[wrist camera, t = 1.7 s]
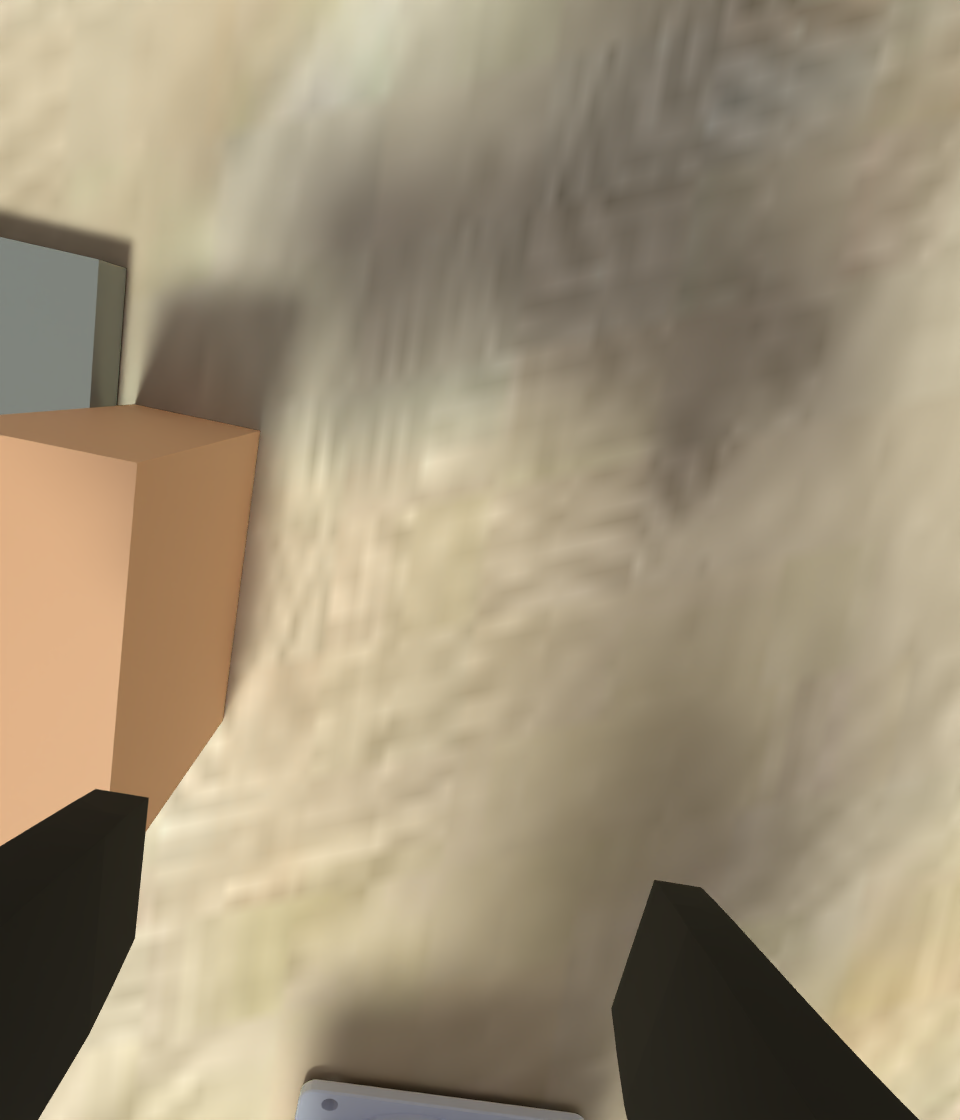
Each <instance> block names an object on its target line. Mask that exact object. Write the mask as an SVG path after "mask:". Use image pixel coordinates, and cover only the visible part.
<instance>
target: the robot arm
mask: <svg viewBox="0 0 960 1120" xmlns="http://www.w3.org/2000/svg"><path fill="white" fill-rule="evenodd" d="M148 801H149V797H142V796H136V795H130V794H124V793H118V792H112V791H106V790H99V789H95V790H93V791H91V792H89V793H88V794H86V795H84V796H82V797H81V798H79V799H77V800H76V801H74V802H72V803H71V804H69V805H67V806H66V807H64V808H62V809H61V810H59V811H57V812H56V813H54V814H52V815H51V816H49V817H47V818H46V819H44V820H43V821H41V822H39V823H38V824H36V825H34V826H33V827H31V828H29V829H28V830H26V831H24V832H23V833H21V834H19V835H18V836H16V837H14V838H13V839H11V840H10V841H8V842H6V843H5V844H3V845H1V846H0V1120H38V1119H39V1117H40V1115H41V1114H42V1112H43V1110H44V1109H45V1107H46V1105H47V1104H48V1102H49V1100H50V1099H51V1097H52V1096H53V1094H54V1092H55V1091H56V1089H57V1087H58V1086H59V1084H60V1082H61V1081H62V1079H63V1077H64V1076H65V1074H66V1072H67V1071H68V1069H69V1067H70V1066H71V1064H72V1062H73V1061H74V1059H75V1057H76V1055H77V1054H78V1052H79V1050H80V1049H81V1047H82V1045H83V1044H84V1042H85V1040H86V1039H87V1037H88V1035H89V1033H90V1031H91V1029H92V1027H93V1025H94V1023H95V1021H96V1019H97V1017H98V1015H99V1013H100V1011H101V1009H102V1007H103V1005H104V1003H105V1001H106V999H107V997H108V994H109V992H110V990H111V988H112V986H113V984H114V982H115V980H116V978H117V975H118V973H119V971H120V969H121V967H122V965H123V963H124V961H125V958H126V956H127V954H128V952H129V950H130V948H131V946H132V943H133V941H134V939H135V931H136V921H137V911H138V901H139V891H140V881H141V871H142V861H143V851H144V841H145V831H146V821H147V811H148ZM611 1009H612V1017H613V1025H614V1033H615V1042H616V1050H617V1058H618V1065H619V1072H620V1079H621V1086H622V1093H623V1100H624V1106H625V1111H626V1115H627V1119H628V1120H919V1119H918V1118H917V1117H916V1116H915V1115H914V1114H913V1113H912V1112H911V1111H910V1110H909V1109H908V1108H907V1107H906V1106H905V1105H904V1104H903V1103H902V1102H901V1101H900V1100H899V1099H898V1098H897V1097H896V1096H895V1095H894V1094H893V1093H892V1092H891V1091H890V1090H889V1089H888V1088H887V1087H886V1086H885V1085H884V1084H883V1082H882V1081H881V1080H880V1079H879V1078H878V1077H877V1076H876V1075H875V1074H874V1073H873V1072H872V1071H871V1070H870V1069H869V1068H868V1067H867V1066H866V1065H865V1064H864V1063H863V1062H862V1061H861V1059H860V1058H859V1057H858V1056H857V1055H856V1054H855V1053H854V1052H853V1051H852V1050H851V1049H850V1048H849V1047H848V1046H847V1045H846V1044H845V1043H844V1041H843V1040H842V1039H841V1038H840V1037H839V1036H838V1035H837V1034H836V1033H835V1032H834V1031H833V1030H832V1029H831V1027H830V1026H829V1025H828V1024H827V1023H826V1022H825V1021H824V1020H823V1019H822V1018H821V1017H820V1016H819V1015H818V1013H817V1012H816V1011H815V1010H814V1009H813V1008H812V1007H811V1006H810V1005H809V1004H808V1003H807V1001H806V1000H805V999H804V998H803V997H802V996H801V995H800V994H799V993H798V992H797V991H796V989H795V988H794V987H793V986H792V985H791V984H790V983H789V982H788V981H787V979H786V978H785V977H784V976H783V975H782V974H781V973H780V972H779V971H778V970H777V968H776V967H775V966H774V965H773V964H772V963H771V962H770V961H769V960H768V959H767V957H766V956H765V955H764V954H763V953H762V952H761V951H760V950H759V949H758V947H757V946H756V945H755V944H754V943H753V942H752V941H751V940H750V939H749V938H748V937H747V935H746V934H745V933H744V932H743V931H742V930H741V929H740V928H739V927H738V926H737V924H736V923H735V922H734V921H733V920H732V919H731V918H730V917H729V916H728V915H727V914H726V913H725V912H724V910H723V909H722V908H721V907H720V906H719V905H718V904H717V903H716V902H715V901H714V900H713V899H712V898H711V897H710V896H709V895H708V894H707V893H706V892H705V891H704V890H703V889H702V888H700V887H694V886H688V885H682V884H676V883H670V882H663V881H657V880H654V883H653V886H652V889H651V892H650V895H649V898H648V901H647V904H646V907H645V910H644V913H643V916H642V919H641V922H640V925H639V928H638V930H637V933H636V936H635V939H634V942H633V945H632V948H631V951H630V954H629V957H628V960H627V963H626V966H625V969H624V972H623V975H622V978H621V981H620V984H619V987H618V990H617V993H616V996H615V999H614V1002H613V1005H612V1008H611ZM295 1120H584V1118H583V1117H581V1116H580V1115H579V1114H576V1113H571V1112H563V1111H556V1110H548V1109H540V1108H533V1107H525V1106H517V1105H510V1104H502V1103H495V1102H487V1101H479V1100H472V1099H464V1098H457V1097H449V1096H441V1095H434V1094H426V1093H418V1092H411V1091H403V1090H396V1089H388V1088H380V1087H373V1086H365V1085H357V1084H350V1083H342V1082H335V1081H327V1080H319V1079H315V1080H310V1081H308V1082H306V1083H305V1084H304V1085H303V1086H302V1088H301V1091H300V1095H299V1100H298V1105H297V1110H296V1116H295Z"/></svg>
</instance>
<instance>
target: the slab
mask: <svg viewBox="0 0 960 1120" xmlns="http://www.w3.org/2000/svg"><path fill="white" fill-rule="evenodd" d="M259 437H260V431H259V430H254V429H249V428H244V427H240V426H235V425H230V424H226V423H221V422H216V421H211V420H207V419H202V418H197V417H193V416H188V415H183V414H178V413H174V412H169V411H164V410H159V409H155V408H150V407H145V406H141V405H136V404H132V405H120V406H107V407H94V408H81V409H68V410H55V411H43V412H30V413H17V414H4V415H0V846H1V845H3V844H5V843H6V842H8V841H10V840H11V839H13V838H14V837H16V836H18V835H19V834H21V833H23V832H24V831H26V830H28V829H29V828H31V827H33V826H34V825H36V824H38V823H39V822H41V821H43V820H44V819H46V818H47V817H49V816H51V815H52V814H54V813H56V812H57V811H59V810H61V809H62V808H64V807H66V806H67V805H69V804H71V803H72V802H74V801H76V800H77V799H79V798H81V797H82V796H84V795H86V794H88V793H89V792H91V791H93V790H95V789H99V790H106V791H112V792H118V793H124V794H130V795H136V796H142V797H149V801H148V811H147V821H146V831H147V829H148V828H149V826H150V825H151V823H152V822H153V821H154V819H155V818H156V816H157V815H158V813H159V812H160V810H161V809H162V808H163V806H164V805H165V803H166V802H167V800H168V799H169V797H170V796H171V795H172V793H173V792H174V790H175V789H176V787H177V786H178V784H179V783H180V782H181V780H182V779H183V777H184V776H185V774H186V773H187V771H188V770H189V769H190V767H191V766H192V764H193V763H194V761H195V760H196V758H197V757H198V756H199V754H200V753H201V751H202V750H203V748H204V747H205V745H206V744H207V743H208V741H209V740H210V738H211V737H212V735H213V734H214V732H215V731H216V730H217V728H218V727H219V725H220V724H221V722H222V721H223V715H224V708H225V700H226V692H227V684H228V677H229V669H230V661H231V653H232V646H233V638H234V630H235V623H236V615H237V607H238V599H239V592H240V584H241V576H242V568H243V561H244V553H245V545H246V537H247V530H248V522H249V514H250V506H251V499H252V491H253V483H254V475H255V468H256V460H257V452H258V445H259ZM146 831H145V832H146Z"/></svg>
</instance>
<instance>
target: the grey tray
mask: <svg viewBox="0 0 960 1120" xmlns="http://www.w3.org/2000/svg"><path fill="white" fill-rule="evenodd" d="M125 282H126V268H123V267H120V266H117V265H114V264H111V263H108V262H105V261H102V260H99V259H95V258H90V257H86V256H82V255H77V254H73V253H69V252H64V251H60V250H55V249H51V248H47V247H42V246H38V245H33V244H29V243H25V242H20V241H16V240H12V239H7V238H3V237H0V415H4V414H17V413H30V412H43V411H55V410H68V409H81V408H94V407H107V406H116V405H117V391H118V378H119V364H120V350H121V337H122V323H123V309H124V296H125Z"/></svg>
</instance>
